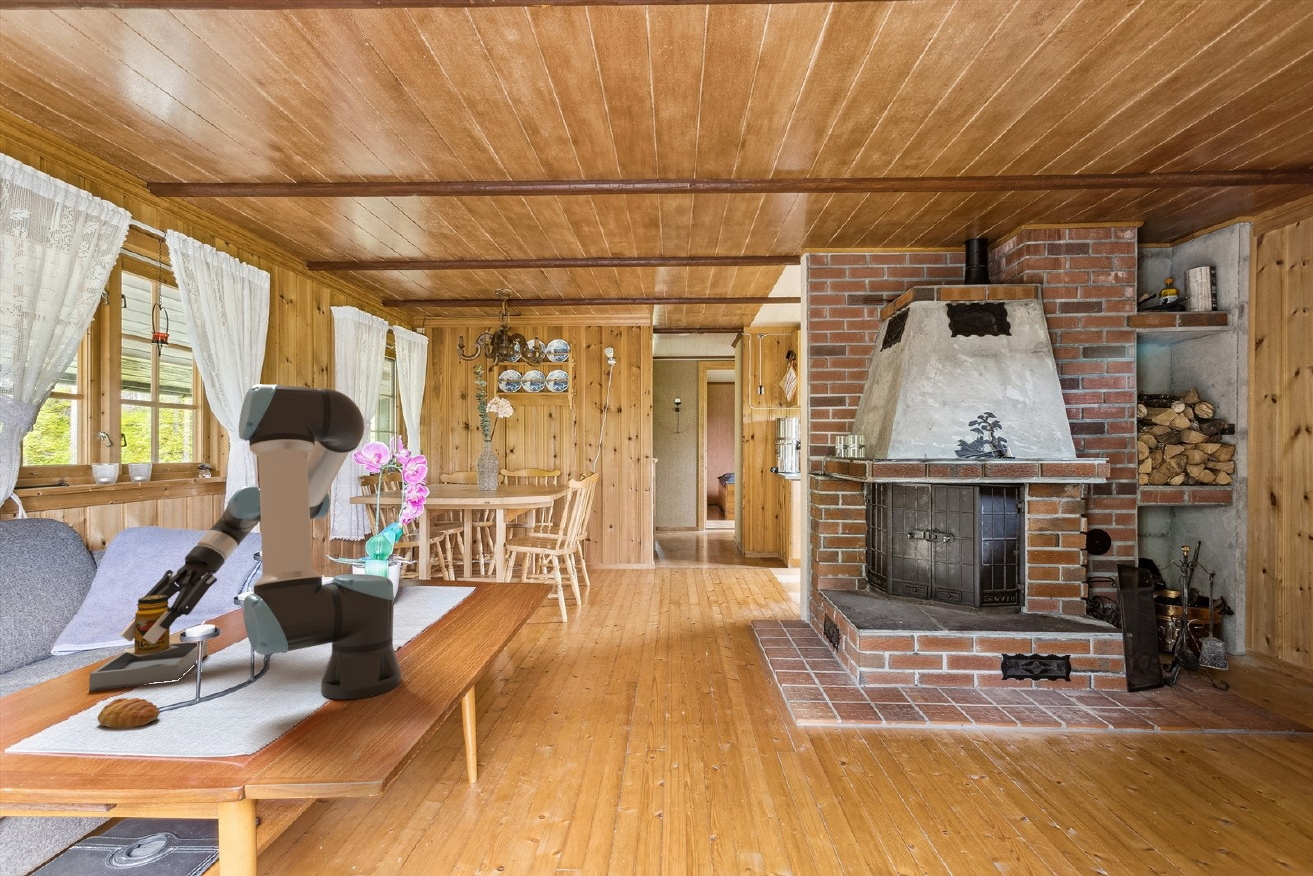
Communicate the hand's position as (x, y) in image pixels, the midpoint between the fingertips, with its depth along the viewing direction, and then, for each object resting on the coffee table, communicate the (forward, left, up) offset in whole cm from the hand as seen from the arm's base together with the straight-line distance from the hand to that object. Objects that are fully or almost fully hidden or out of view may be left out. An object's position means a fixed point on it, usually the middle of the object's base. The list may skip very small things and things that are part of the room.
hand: (137, 639), depth 133 cm
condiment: (+3, -1, -4) cm, 5 cm away
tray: (+3, -2, -8) cm, 9 cm away
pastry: (-27, -9, -9) cm, 29 cm away
